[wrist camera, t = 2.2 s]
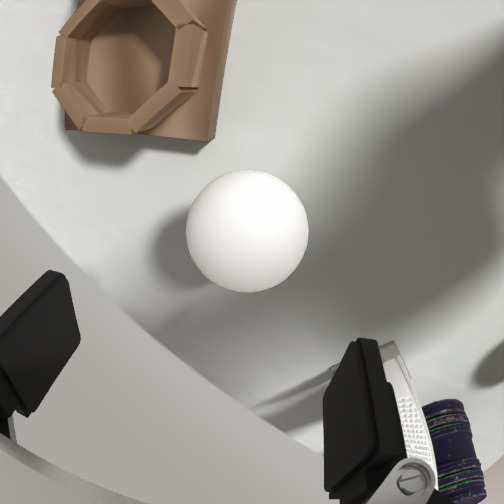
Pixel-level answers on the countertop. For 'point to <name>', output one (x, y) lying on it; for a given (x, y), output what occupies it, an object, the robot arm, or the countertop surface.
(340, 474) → the robot arm
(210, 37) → the socket board
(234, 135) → the countertop surface
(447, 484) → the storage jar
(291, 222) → the lightbulb
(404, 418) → the skyscraper
